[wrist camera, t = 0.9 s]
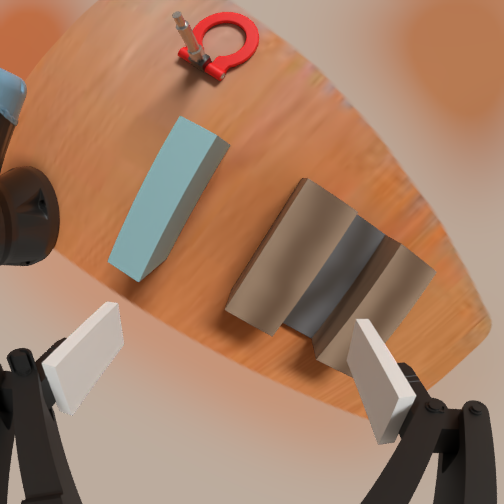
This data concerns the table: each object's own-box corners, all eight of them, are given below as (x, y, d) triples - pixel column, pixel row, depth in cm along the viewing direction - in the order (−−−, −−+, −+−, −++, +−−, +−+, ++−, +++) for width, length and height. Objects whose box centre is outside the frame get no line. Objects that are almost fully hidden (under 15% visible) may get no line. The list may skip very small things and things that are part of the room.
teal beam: (166, 258, 38) (138, 282, 29) (141, 242, 38) (107, 261, 29) (230, 145, 34) (217, 135, 25) (201, 129, 34) (180, 115, 25)
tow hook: (220, 7, 30) (173, 55, 31) (205, -53, 17) (137, 6, 19) (272, 35, 31) (225, 87, 32) (277, -24, 18) (208, 40, 20)
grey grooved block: (231, 289, 38) (224, 309, 32) (301, 178, 34) (308, 178, 29) (345, 353, 40) (354, 378, 34) (415, 258, 36) (436, 272, 30)
